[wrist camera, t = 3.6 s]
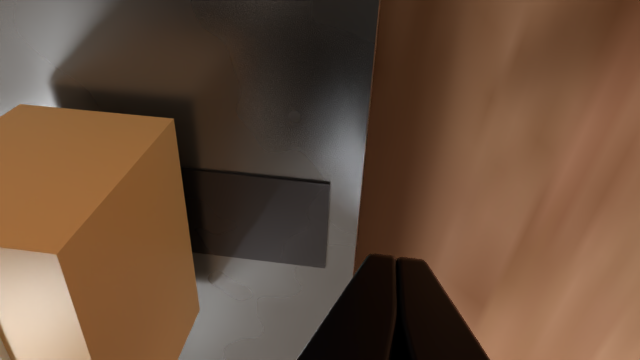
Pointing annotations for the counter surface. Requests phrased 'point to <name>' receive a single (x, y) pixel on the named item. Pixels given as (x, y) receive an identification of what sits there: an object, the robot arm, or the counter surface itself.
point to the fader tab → (92, 237)
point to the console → (228, 138)
